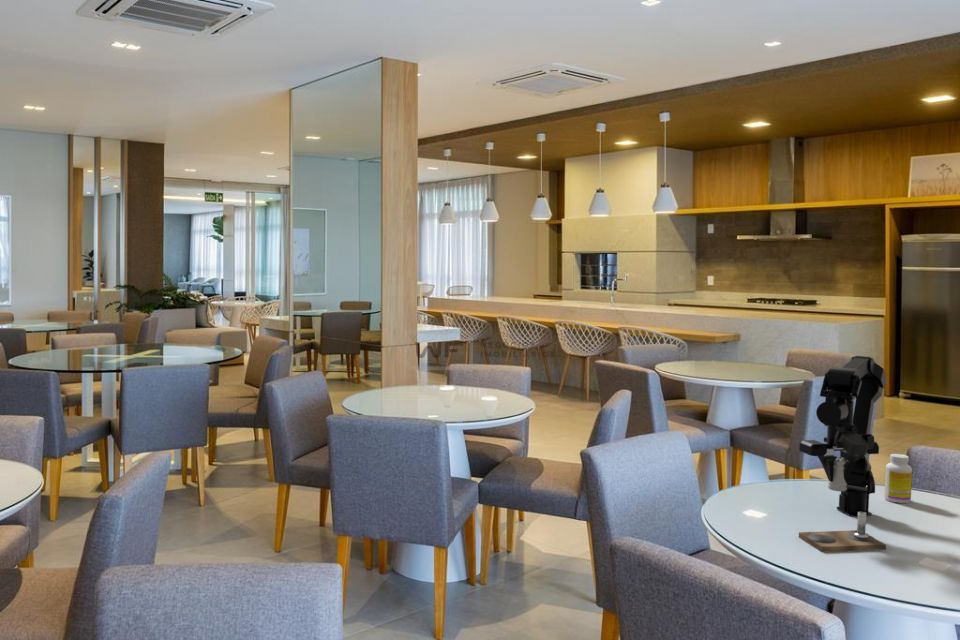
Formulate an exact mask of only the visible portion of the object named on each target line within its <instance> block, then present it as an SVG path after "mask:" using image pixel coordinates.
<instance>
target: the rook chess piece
mask: <svg viewBox="0 0 960 640" xmlns="http://www.w3.org/2000/svg"><path fill="white" fill-rule="evenodd" d="M845 463H846V462H845V461H844V458H843V457H841V459H840V456H837V459H836V460H835V461H834V476H833V481H832V482H831V481H829V480H828V485H827V488H828V489H829V490H831V491H834V492H841V491H846V489H847V488H846V486H847V483H846V482H845V480H844V474H843V469H844V467H843V465H844V464H845Z"/></svg>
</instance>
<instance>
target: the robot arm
mask: <svg viewBox="0 0 960 640" xmlns="http://www.w3.org/2000/svg"><path fill="white" fill-rule="evenodd" d="M886 385H887V375H886V372H885V369H884V368H883V367H882V366H881V365H879V364H878V363H876V362H875V359H874V358H873V357H872V356H865V355H864V356H863V355H855V356H852V357H851V360H850V361H849V362H847V363H845V364H844V365H843V366H841V367H831V368H829V369H828V370H827V372H826V373H825V375H824V378H823V381H822V385H821V389H820V394H819V396H820V397H822V398H825V401H824V402H821V403H820V404H819V405H818V406H817V408H816V411H815V413H816V417H817V419H818V421H819V422H820V423H821V424H823V425H824V426H825V427H827V429H826V430H827V432H826V433H827V434H826V437H823V442H824V443H823V442H820V441H818V440H815V439H805V440H801V442H800V443H799V447H798V449H799V450H798V451H799V452H801V453H803V454H806V455H809V456H811V457H817V458H818V460H819V462H820V463H821V465H822V468H823V470H824V473H825V474H826V475H825V476H826V478H827V480H828V482H829V481H831V482H832V481H833V476H834V461H835V460H836V459H837V458H838V456H836V455H834V454H835V452H838V451H839V453H840V454H839V455H840V456H839V457H840V459H841V457H843V458H844V461H845V462H846V463H845V464H844V465H843V467H844V469H843V474H844V480H845V482H846V483H847V486H846V488H847V489H846V491H840V493H839V494H838V495H839V496H838V497H839V498H838V506H836V510H839V511H840V512H842V513H843V514H846V515H848V516H851V517H853V516H855V517H858V512H859V511H862V512H866V516H872V515H873V513H872V512H870V511H869V507H870V504H869V503H870V495H871V494H875V493H876V481H875V478H874V475H873V471H872V465H871V463H870V460H869V459H868V457H867V454H868V455H879V454H880V446H879V444H878V442H877V441H875V436H874V435H873V434H872V433H870V432H871V426H872V421H873V412H874V407H875V406H874V405H875V403H877V401H878V400H879V399H880V398H881V397H882V395H883V391H884V389H885V388H886Z"/></svg>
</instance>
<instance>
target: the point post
mask: <svg viewBox="0 0 960 640" xmlns="http://www.w3.org/2000/svg"><path fill="white" fill-rule="evenodd" d="M856 521H857V523H856V525H857V527H856V530H857V532H854V537H855V538H858V539H868V536H869V535H870V534H868V533H867V532H866V530H867V529H866V527H867V526H866V525H867V523H866V522H867V515H866V512H862V511H859V512H858V516H857V520H856Z"/></svg>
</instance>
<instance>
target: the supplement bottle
mask: <svg viewBox="0 0 960 640" xmlns="http://www.w3.org/2000/svg"><path fill="white" fill-rule="evenodd" d="M889 456H890V457H889V461H890V462H888V463H887V464H886V465H885V473H884V474H885V475H884V476H885V479H884V499H885V500H886V501H888V502H892V503H895V502H898V503H897V504H908V503H907V502H909V503H910V502H911V501H912V485H913V484H912V482H913V477H912V476H913V468H912V466H910V465H909V464H908V463H909V461H910V457H909V456H908V455H906V454H901V453H891V454H890V455H889Z"/></svg>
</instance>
